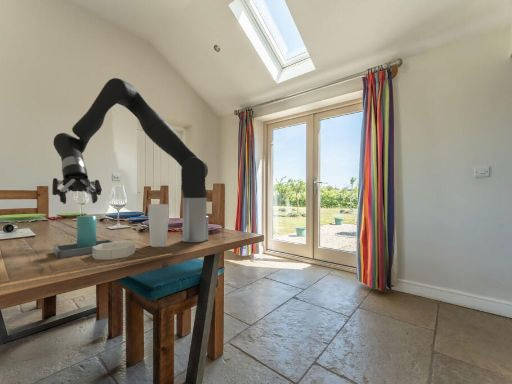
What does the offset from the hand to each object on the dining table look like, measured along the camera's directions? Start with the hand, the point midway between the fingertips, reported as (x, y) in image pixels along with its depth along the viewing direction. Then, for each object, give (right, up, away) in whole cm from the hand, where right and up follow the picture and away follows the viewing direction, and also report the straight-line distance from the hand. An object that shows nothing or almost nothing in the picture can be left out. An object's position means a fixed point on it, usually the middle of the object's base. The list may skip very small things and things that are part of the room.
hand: (80, 201), depth 85 cm
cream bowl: (+19, -16, -12) cm, 27 cm away
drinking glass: (+27, -16, +1) cm, 31 cm away
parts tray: (+8, -16, -8) cm, 19 cm away
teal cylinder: (+8, -15, -8) cm, 19 cm away
